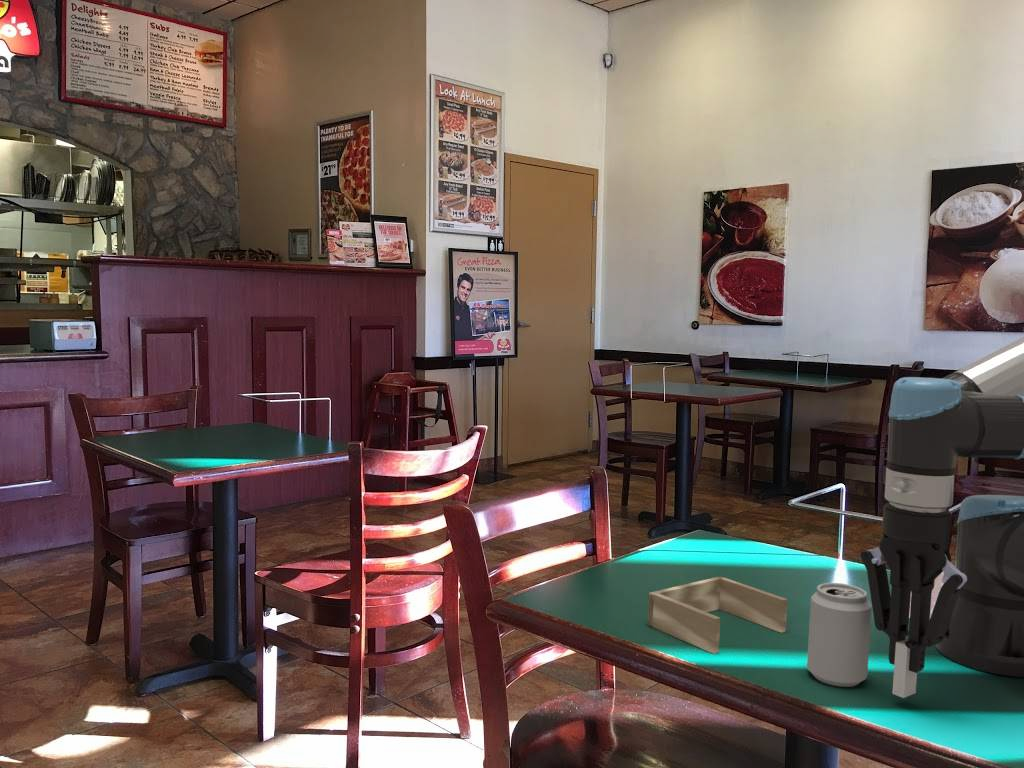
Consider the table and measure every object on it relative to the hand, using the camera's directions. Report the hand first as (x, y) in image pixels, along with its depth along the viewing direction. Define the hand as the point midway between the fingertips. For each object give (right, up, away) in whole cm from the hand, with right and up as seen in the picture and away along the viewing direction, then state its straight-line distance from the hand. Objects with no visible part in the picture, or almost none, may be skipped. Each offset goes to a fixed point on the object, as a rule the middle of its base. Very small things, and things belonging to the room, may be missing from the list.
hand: (904, 693), depth 108 cm
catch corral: (-17, +1, +24) cm, 29 cm away
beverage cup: (+17, +1, +31) cm, 36 cm away
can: (-6, -1, +8) cm, 9 cm away
